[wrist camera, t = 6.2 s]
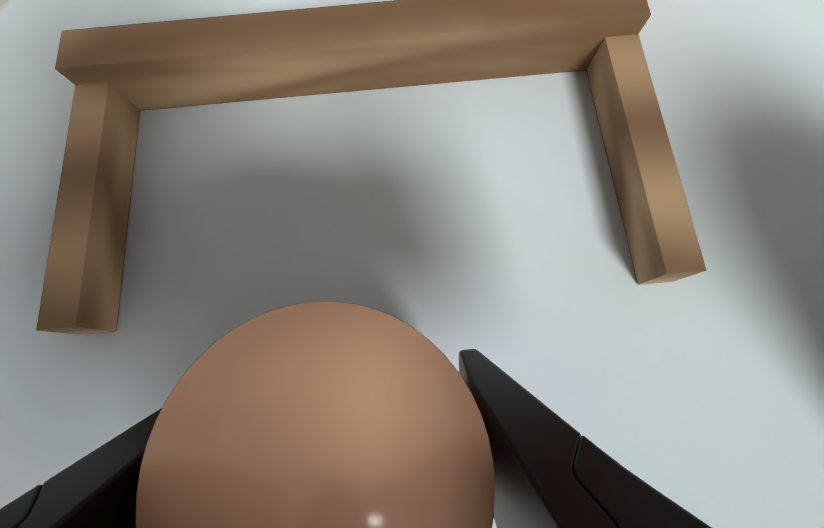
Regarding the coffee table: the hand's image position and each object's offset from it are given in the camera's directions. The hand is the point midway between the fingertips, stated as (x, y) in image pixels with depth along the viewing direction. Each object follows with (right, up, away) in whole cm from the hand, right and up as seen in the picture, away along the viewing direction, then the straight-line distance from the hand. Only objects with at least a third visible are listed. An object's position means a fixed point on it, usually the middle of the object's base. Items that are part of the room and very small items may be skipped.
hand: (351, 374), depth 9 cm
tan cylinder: (0, -3, +6) cm, 7 cm away
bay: (-1, +7, +9) cm, 11 cm away
